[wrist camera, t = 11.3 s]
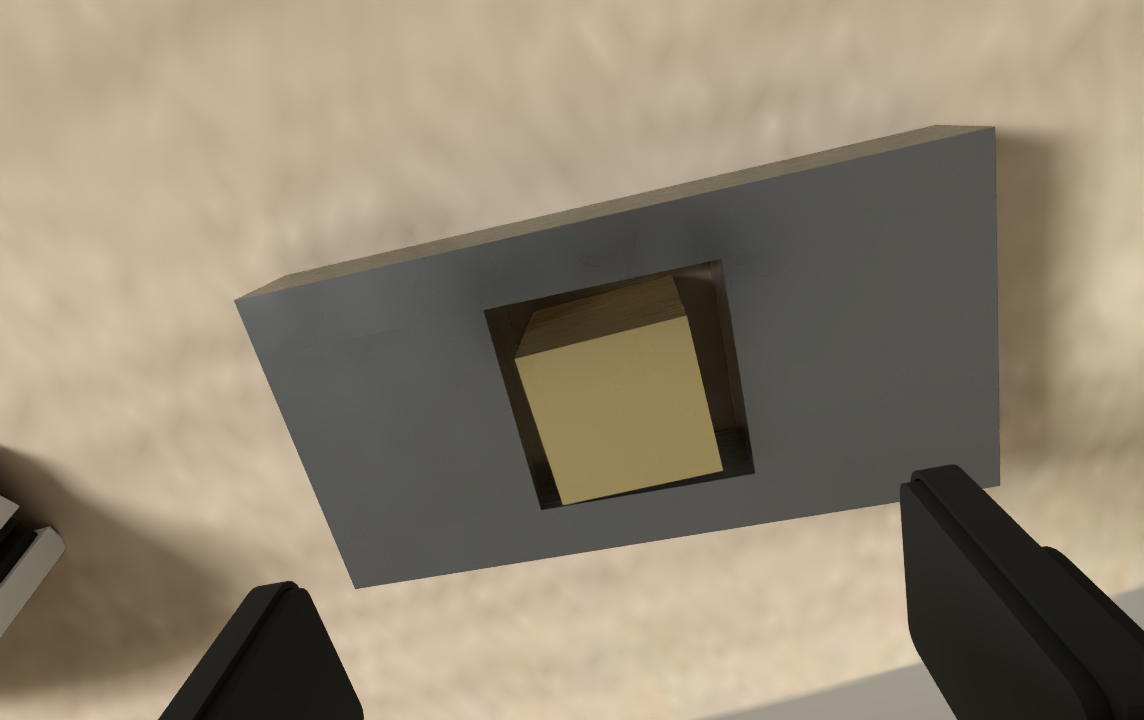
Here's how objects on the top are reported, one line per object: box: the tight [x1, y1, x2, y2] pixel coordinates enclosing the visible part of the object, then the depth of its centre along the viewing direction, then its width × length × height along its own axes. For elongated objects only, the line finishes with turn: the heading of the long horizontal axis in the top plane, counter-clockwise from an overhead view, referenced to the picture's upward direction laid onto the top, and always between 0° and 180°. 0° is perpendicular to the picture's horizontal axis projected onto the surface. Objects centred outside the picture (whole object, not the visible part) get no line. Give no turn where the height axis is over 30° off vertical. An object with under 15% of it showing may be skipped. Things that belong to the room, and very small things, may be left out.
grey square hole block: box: [234, 125, 1000, 589], centre depth 20 cm, size 10×20×3 cm, turn 103°
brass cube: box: [515, 275, 723, 505], centre depth 19 cm, size 4×4×4 cm
